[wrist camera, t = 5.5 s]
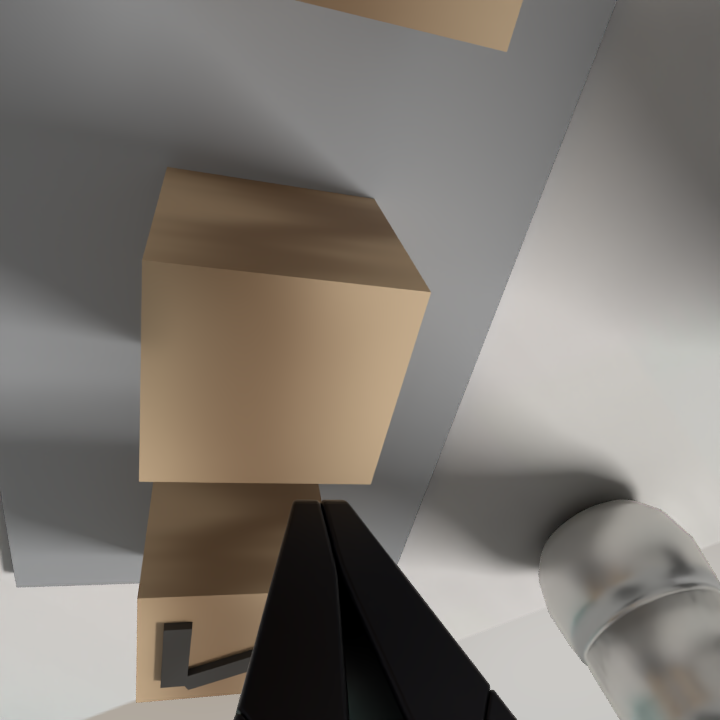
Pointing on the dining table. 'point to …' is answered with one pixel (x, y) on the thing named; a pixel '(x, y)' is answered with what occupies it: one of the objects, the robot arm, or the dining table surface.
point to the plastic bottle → (637, 609)
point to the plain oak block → (271, 333)
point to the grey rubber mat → (254, 162)
